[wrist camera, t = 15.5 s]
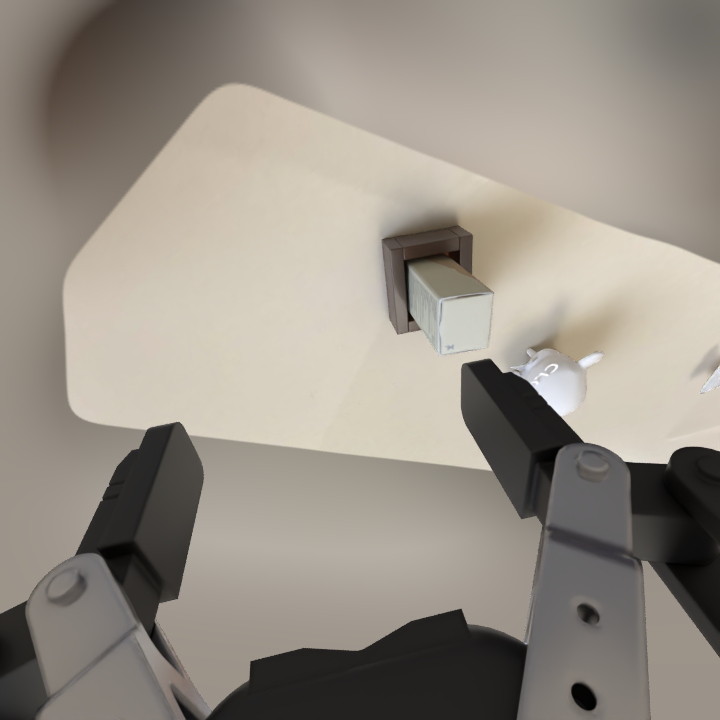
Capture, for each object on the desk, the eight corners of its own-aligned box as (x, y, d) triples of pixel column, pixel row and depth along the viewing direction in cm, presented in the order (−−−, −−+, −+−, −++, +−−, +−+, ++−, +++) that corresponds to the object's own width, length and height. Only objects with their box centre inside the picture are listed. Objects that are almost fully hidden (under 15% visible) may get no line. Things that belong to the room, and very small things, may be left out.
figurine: (572, 321, 48) (524, 315, 43) (637, 359, 43) (591, 358, 37) (521, 398, 54) (473, 401, 48) (573, 441, 48) (525, 451, 42)
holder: (389, 319, 42) (397, 334, 39) (381, 239, 37) (389, 249, 35) (458, 306, 43) (470, 320, 40) (458, 225, 38) (472, 234, 35)
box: (442, 298, 41) (489, 352, 32) (402, 304, 41) (437, 360, 31) (444, 248, 38) (496, 291, 29) (401, 254, 38) (440, 299, 29)
